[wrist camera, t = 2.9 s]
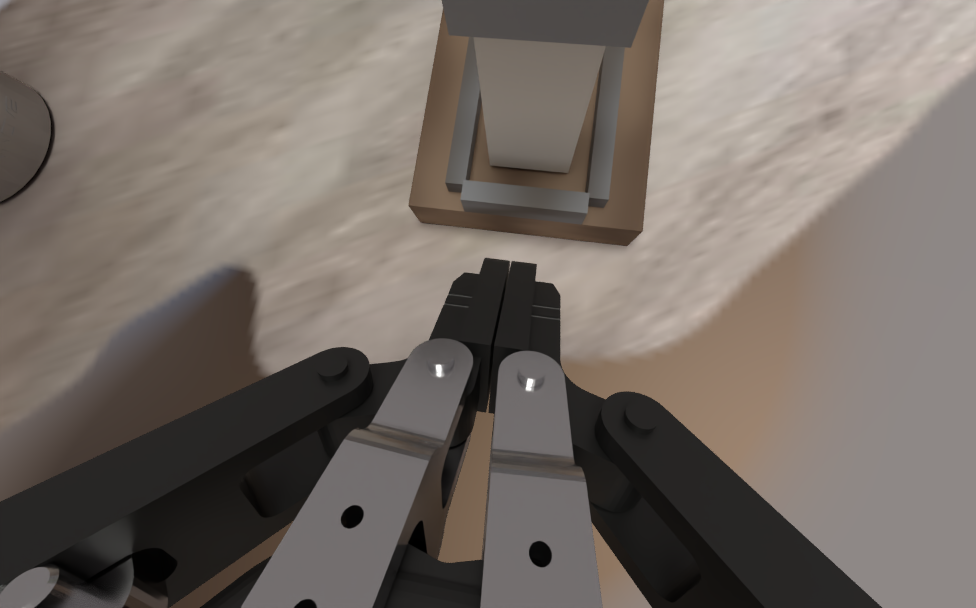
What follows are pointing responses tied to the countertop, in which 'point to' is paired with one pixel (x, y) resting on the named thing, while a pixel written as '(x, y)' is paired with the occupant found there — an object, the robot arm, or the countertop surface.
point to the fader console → (535, 193)
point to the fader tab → (539, 70)
